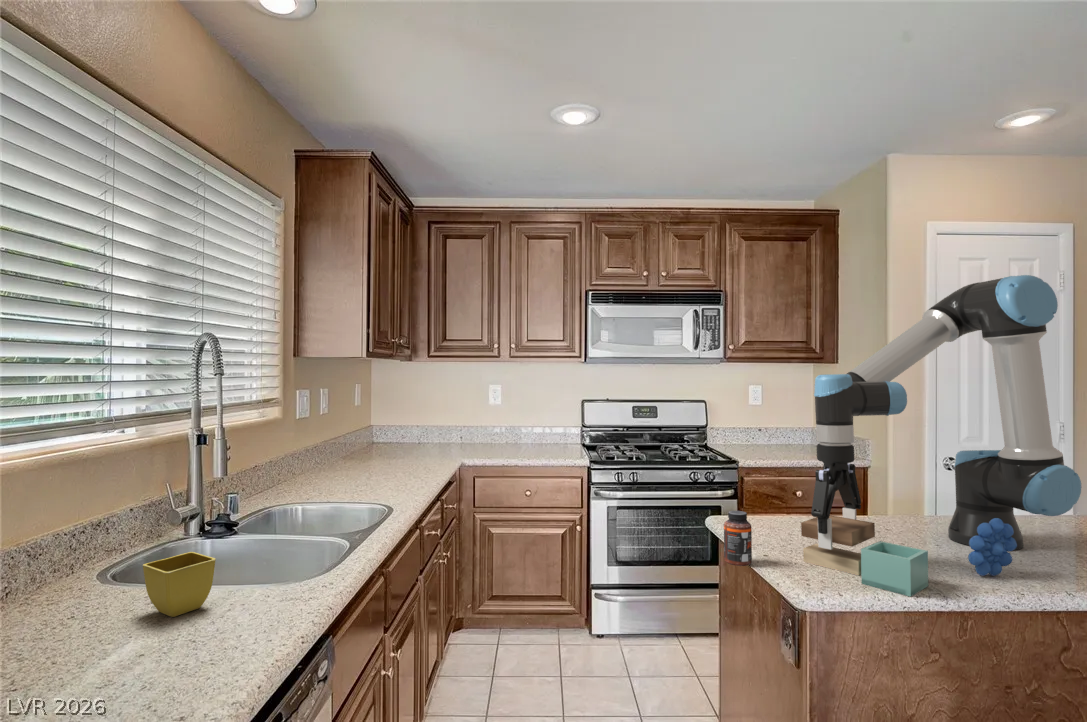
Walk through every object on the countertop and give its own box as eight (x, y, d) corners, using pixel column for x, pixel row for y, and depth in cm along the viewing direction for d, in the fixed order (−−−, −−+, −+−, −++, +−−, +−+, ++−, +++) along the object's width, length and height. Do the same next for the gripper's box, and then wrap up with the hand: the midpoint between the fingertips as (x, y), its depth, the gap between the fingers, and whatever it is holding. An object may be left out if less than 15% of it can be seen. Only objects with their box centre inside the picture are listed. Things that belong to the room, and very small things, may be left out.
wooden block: (816, 556, 138) (816, 543, 138) (871, 569, 129) (870, 555, 129) (803, 561, 134) (803, 548, 134) (858, 575, 125) (858, 561, 125)
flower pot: (165, 624, 102) (166, 572, 102) (141, 614, 107) (141, 563, 107) (216, 607, 110) (217, 558, 110) (191, 598, 114) (191, 551, 114)
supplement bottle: (753, 567, 130) (753, 516, 131) (725, 566, 131) (725, 514, 132) (749, 559, 136) (749, 509, 136) (722, 557, 137) (722, 508, 138)
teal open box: (880, 574, 126) (879, 540, 126) (928, 585, 119) (927, 550, 119) (861, 583, 120) (861, 549, 120) (910, 596, 113) (910, 559, 113)
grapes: (995, 567, 130) (994, 512, 130) (1026, 577, 124) (1025, 519, 124) (951, 571, 127) (950, 515, 128) (981, 582, 121) (980, 522, 121)
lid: (825, 527, 139) (824, 514, 139) (874, 536, 131) (874, 522, 131) (801, 536, 133) (801, 522, 133) (852, 546, 124) (851, 532, 124)
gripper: (842, 437, 142) (845, 529, 142) (791, 447, 128) (794, 549, 127) (875, 439, 136) (878, 535, 136) (826, 450, 122) (829, 557, 121)
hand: (838, 542), depth 132 cm, fingers closed on lid, 11 cm apart
